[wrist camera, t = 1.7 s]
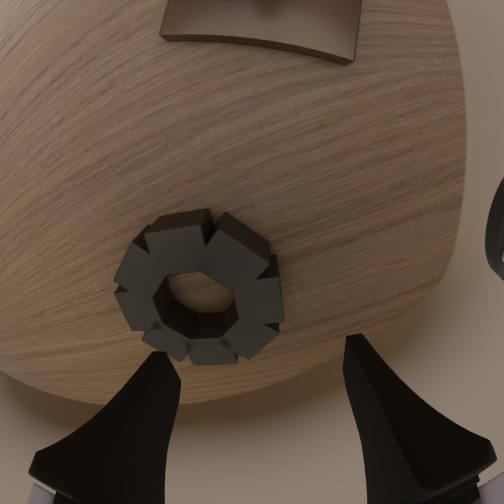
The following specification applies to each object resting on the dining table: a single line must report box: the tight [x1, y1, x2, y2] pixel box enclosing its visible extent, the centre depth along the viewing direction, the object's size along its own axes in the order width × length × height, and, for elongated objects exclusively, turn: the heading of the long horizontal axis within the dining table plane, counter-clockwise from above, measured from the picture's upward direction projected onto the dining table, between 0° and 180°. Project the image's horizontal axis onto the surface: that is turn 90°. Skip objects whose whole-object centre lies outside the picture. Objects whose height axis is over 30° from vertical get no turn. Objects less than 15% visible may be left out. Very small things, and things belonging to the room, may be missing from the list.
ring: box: [114, 209, 284, 365], centre depth 15 cm, size 9×9×2 cm
